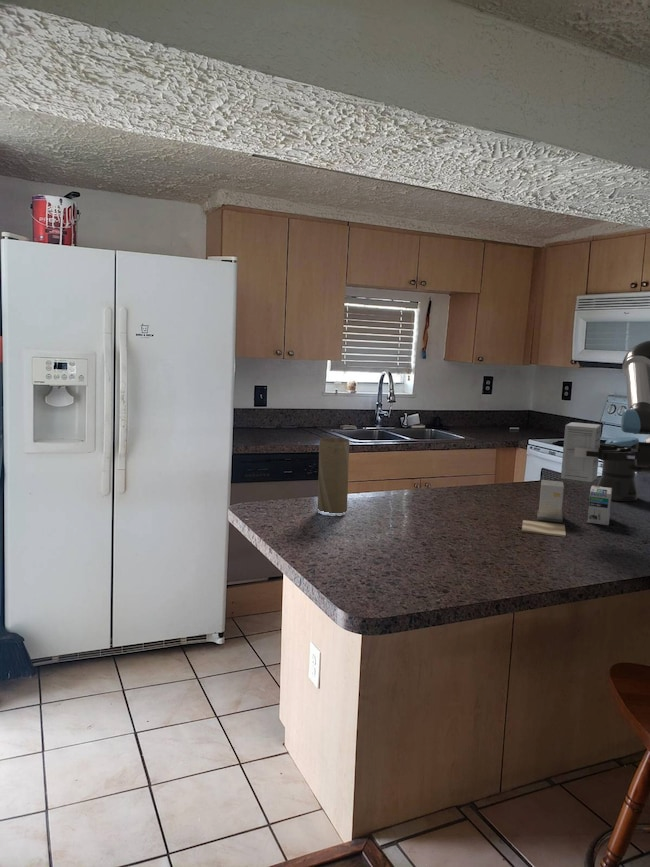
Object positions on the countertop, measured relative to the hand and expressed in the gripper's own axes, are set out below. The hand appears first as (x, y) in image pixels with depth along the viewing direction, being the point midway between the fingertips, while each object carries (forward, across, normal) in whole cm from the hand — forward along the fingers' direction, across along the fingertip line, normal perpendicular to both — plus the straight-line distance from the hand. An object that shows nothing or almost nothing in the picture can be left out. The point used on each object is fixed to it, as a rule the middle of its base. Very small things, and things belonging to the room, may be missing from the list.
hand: (573, 448), depth 204 cm
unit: (+4, +14, -26) cm, 30 cm away
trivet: (+7, -2, -26) cm, 27 cm away
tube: (+75, -9, -27) cm, 80 cm away
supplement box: (-2, 0, -9) cm, 10 cm away
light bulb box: (-11, +17, -26) cm, 33 cm away
